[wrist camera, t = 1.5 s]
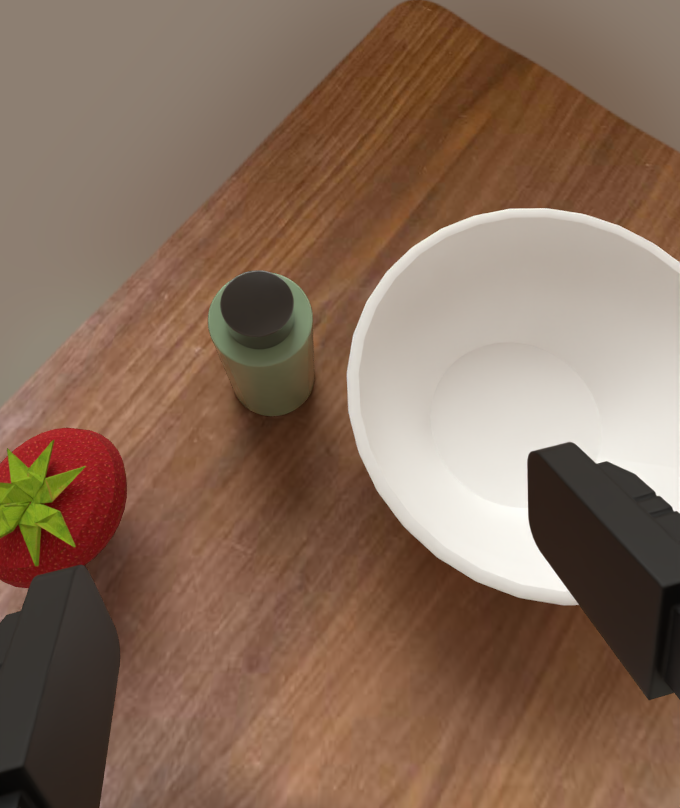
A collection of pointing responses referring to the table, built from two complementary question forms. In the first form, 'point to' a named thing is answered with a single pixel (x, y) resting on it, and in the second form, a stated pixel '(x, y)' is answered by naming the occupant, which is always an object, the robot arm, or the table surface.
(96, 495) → the strawberry
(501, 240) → the bowl
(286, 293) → the pepper shaker
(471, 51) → the table surface
